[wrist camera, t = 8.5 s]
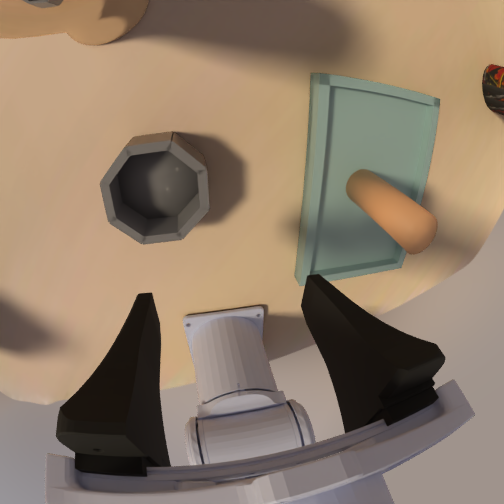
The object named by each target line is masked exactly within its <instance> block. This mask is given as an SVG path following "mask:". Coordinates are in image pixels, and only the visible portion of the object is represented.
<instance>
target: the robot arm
mask: <svg viewBox="0 0 504 504" xmlns="http://www.w3.org/2000/svg"><path fill="white" fill-rule="evenodd" d="M301 308H302V311H303V314H304V317H305V320H306V323H307V325H308V328H309V330H310V332H311V334H312V336H313V338H314V340H315V342H316V344H317V346H318V348H319V350H320V352H321V354H322V357H323V358H324V361H325V363H326V366H327V368H328V371H329V374H330V377H331V380H332V383H333V386H334V390H335V393H336V396H337V400H338V404H339V407H340V412H341V416H342V420H343V425H344V430H345V434H342V435H339V436H336V437H333V438H330V439H327V440H323V441H320V442H317V443H316V442H315V436H314V432H313V428H312V425H311V422H310V419H309V417H308V414H307V412H306V410H305V409H304V407H303V406H302V405H301V404H299V403H297V402H296V401H295V400H293V399H291V400H287V401H286V398H285V395H284V392H283V391H278V389H277V386H276V383H275V380H274V377H273V374H272V371H271V367H270V364H269V361H268V358H267V355H266V352H265V348H264V345H263V342H262V339H263V320H264V309H263V307H262V306H255V307H249V308H242V309H235V310H228V311H220V312H213V313H205V314H197V315H188V316H185V317H183V324H184V329H185V333H186V337H187V341H188V345H189V349H190V353H191V356H192V360H193V364H194V368H195V376H196V384H197V390H198V399H199V405H198V406H196V409H197V415H198V417H191V418H190V419H189V421H188V422H187V424H186V425H185V443H186V450H187V455H188V459H189V463H190V466H176V467H175V466H174V467H171V465H170V460H169V455H168V450H167V445H166V439H165V433H164V426H163V419H162V411H161V401H160V385H159V383H160V356H161V333H160V322H159V318H158V314H157V311H156V307H155V303H154V299H153V295H152V293H141V294H138V295H137V297H136V300H135V302H134V304H133V307H132V309H131V311H130V313H129V315H128V317H127V319H126V321H125V323H124V325H123V327H122V329H121V331H120V333H119V335H118V336H117V338H116V340H115V342H114V343H113V345H112V347H111V348H110V350H109V352H108V353H107V355H106V356H105V358H104V359H103V361H102V362H101V363H100V365H99V366H98V367H97V369H96V370H95V371H94V373H93V374H92V375H91V376H90V378H89V379H88V380H87V381H86V382H85V383H84V384H83V386H82V387H81V388H80V389H79V390H78V391H77V392H76V393H75V394H74V395H73V396H72V397H71V398H70V399H69V400H68V401H67V402H66V403H65V404H64V405H62V406H61V407H60V411H59V414H58V421H57V430H56V437H57V439H58V440H59V441H60V442H61V443H62V444H63V445H65V446H66V447H68V448H69V449H71V450H72V451H74V452H75V459H74V458H71V457H67V456H61V455H55V454H50V453H48V454H46V468H45V503H46V504H394V502H393V499H392V497H391V494H390V492H389V490H388V488H387V485H386V483H385V480H384V478H383V476H382V474H383V473H385V472H387V471H389V470H391V469H393V468H395V467H397V466H399V465H401V464H402V463H404V462H406V461H408V460H410V459H412V458H413V457H415V456H417V455H419V454H420V453H422V452H424V451H425V450H427V449H429V448H430V447H432V446H433V445H435V444H437V443H438V442H440V441H441V440H443V439H444V438H446V437H448V436H449V435H450V434H452V433H453V432H454V431H456V430H457V429H458V428H460V427H461V426H462V425H463V424H465V423H466V422H467V421H469V420H470V419H471V418H472V417H474V416H475V413H474V411H473V410H472V408H471V406H470V404H469V403H468V401H467V399H466V398H465V396H464V394H463V393H462V391H461V389H460V388H459V386H458V385H457V383H456V381H455V380H451V381H449V382H447V383H446V384H444V385H442V386H440V387H439V388H438V389H436V390H434V388H433V386H434V384H435V382H434V381H433V379H432V377H433V376H434V375H435V374H436V373H437V372H438V370H439V369H440V368H441V367H442V365H443V364H444V362H445V356H444V355H443V353H442V352H441V350H440V349H439V347H438V346H437V345H436V344H434V343H431V342H428V341H425V340H421V339H419V338H416V337H413V336H411V335H408V334H406V333H404V332H401V331H399V330H397V329H395V328H393V327H391V326H389V325H388V324H385V323H384V322H382V321H381V320H379V319H377V318H376V317H374V316H372V315H371V314H369V313H368V312H366V311H365V310H364V309H362V308H361V307H359V306H358V305H357V304H355V303H354V302H353V301H351V300H350V299H349V298H348V297H346V296H345V295H344V294H343V293H341V292H340V291H339V290H338V289H336V288H335V287H334V286H333V285H332V284H331V283H329V282H328V281H327V280H326V279H325V278H323V277H322V276H321V275H320V274H314V275H307V278H306V284H305V289H304V294H303V299H302V303H301ZM257 314H258V315H257ZM188 323H190V324H188ZM339 452H340V453H339ZM336 453H337V454H336ZM333 454H334V455H333ZM330 455H331V456H330ZM327 456H328V457H327ZM324 457H325V458H324ZM321 458H322V459H321Z"/></svg>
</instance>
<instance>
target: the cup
mask: <svg viewBox="0 0 504 504" xmlns="http://www.w3.org/2000/svg"><path fill="white" fill-rule="evenodd" d="M100 187H101V192H102V197H103V201H104V206H105V210H106V214H107V218H108V222H110V224H111V225H113V226H114V227H116V228H117V229H119V230H120V231H122V232H124V233H125V234H127V235H128V236H130V237H131V238H133V239H134V240H136V241H137V242H139V243H141V244H142V243H143V244H152V243H160V242H168V241H176V240H182V239H184V238H185V236H186V235H187V234H188V233H189V232H190V231H191V230H192V229H193V228H194V226H195V225H196V224H197V223H198V222H199V221H200V220H201V219H202V218H203V217H204V216H205V214H206V213H207V212H208V211H209V209H210V207H209V191H208V174H207V166H206V162H205V158H204V156H203V155H202V154H201V153H200V152H199V151H197V150H196V149H195V148H194V147H192V146H191V145H190V144H189V143H187V142H186V141H185V140H184V139H182V138H181V137H180V136H179V135H177V134H176V133H175V132H174V133H173V132H164V133H156V134H149V135H142V136H136V137H133V138H132V139H131V140H130V141H129V143H128V144H127V145H126V146H125V147H124V149H123V150H122V152H121V153H120V154H119V156H118V157H117V158H116V160H115V161H114V163H113V164H112V165H111V167H110V168H109V170H108V171H107V173H106V174H105V176H104V177H103V179H102V180H101V183H100Z"/></svg>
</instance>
